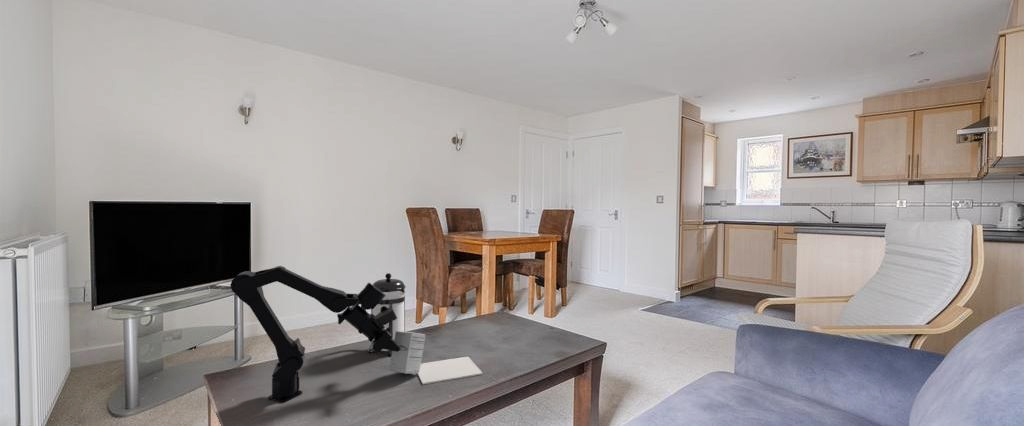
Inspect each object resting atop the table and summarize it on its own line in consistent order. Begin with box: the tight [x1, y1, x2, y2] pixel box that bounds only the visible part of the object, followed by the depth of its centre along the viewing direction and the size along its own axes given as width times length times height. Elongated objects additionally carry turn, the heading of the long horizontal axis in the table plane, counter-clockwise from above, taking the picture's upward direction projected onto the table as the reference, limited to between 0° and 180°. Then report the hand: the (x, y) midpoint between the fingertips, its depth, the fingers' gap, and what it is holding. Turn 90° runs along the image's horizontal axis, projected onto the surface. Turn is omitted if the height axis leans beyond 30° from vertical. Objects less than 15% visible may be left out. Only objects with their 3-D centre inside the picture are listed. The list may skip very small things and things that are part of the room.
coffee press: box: [360, 272, 407, 357], centre depth 156 cm, size 17×16×30 cm
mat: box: [416, 356, 484, 385], centre depth 138 cm, size 20×16×1 cm
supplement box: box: [388, 331, 426, 374], centre depth 134 cm, size 7×7×13 cm
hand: (398, 350), depth 131 cm, fingers closed
